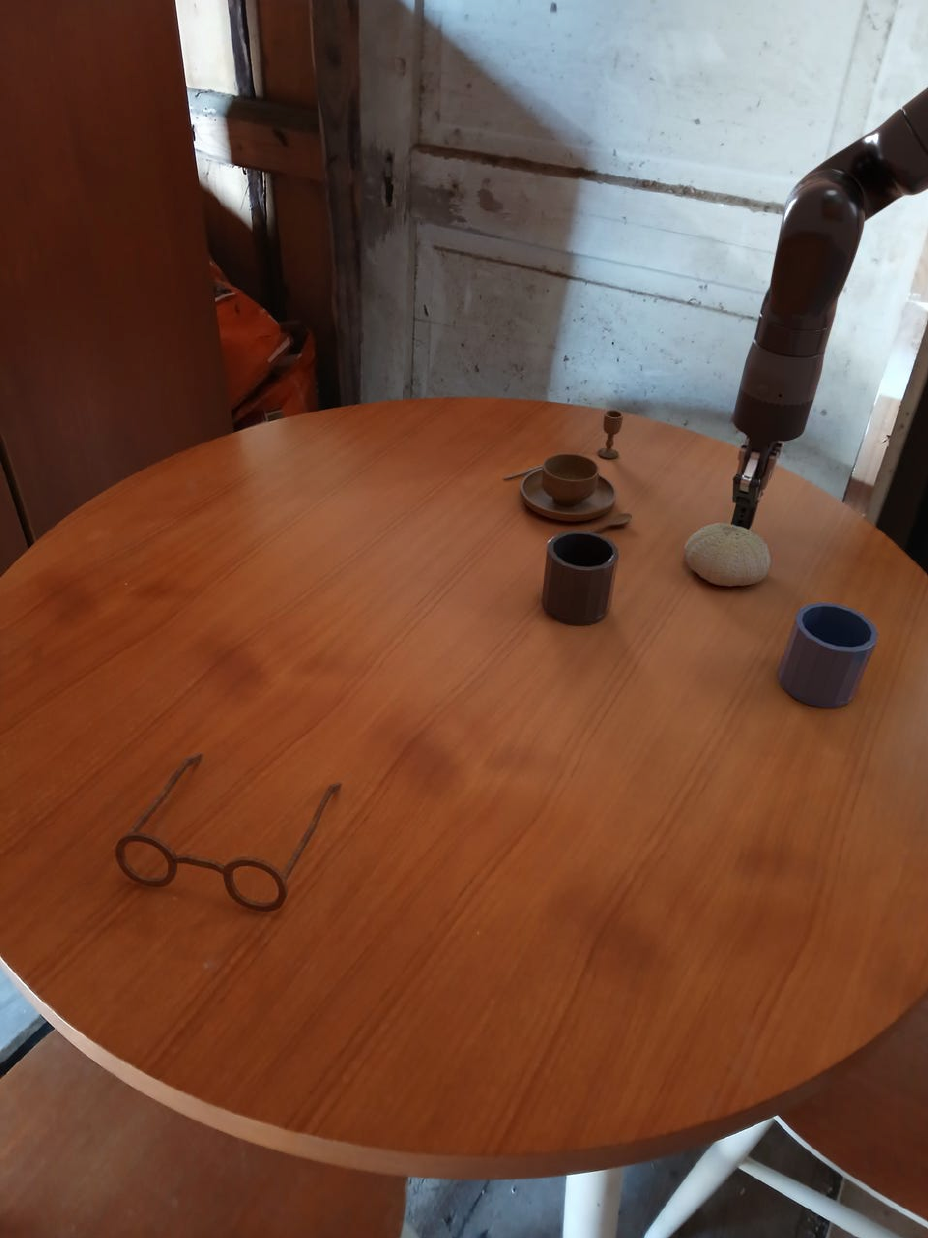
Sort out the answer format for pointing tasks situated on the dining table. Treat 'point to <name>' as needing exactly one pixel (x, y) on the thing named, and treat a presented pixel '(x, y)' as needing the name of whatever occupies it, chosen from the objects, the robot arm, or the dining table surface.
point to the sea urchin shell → (728, 555)
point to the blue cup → (826, 654)
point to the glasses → (227, 870)
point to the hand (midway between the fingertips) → (740, 526)
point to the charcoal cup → (579, 577)
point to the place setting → (574, 484)
